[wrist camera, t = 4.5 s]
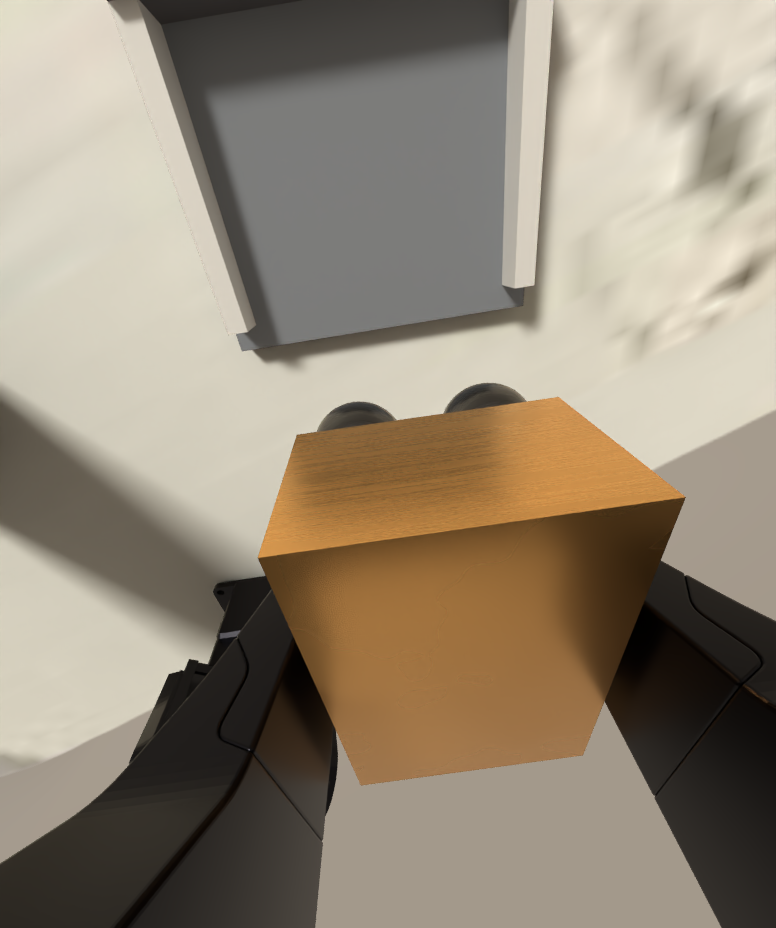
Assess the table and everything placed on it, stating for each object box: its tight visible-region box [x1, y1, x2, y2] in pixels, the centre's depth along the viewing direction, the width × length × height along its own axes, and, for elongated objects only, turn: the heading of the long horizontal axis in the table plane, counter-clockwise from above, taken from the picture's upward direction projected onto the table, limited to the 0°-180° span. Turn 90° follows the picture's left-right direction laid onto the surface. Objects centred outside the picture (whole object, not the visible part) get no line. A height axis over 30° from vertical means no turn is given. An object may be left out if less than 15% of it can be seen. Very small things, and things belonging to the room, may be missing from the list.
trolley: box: [258, 383, 686, 785], centre depth 8 cm, size 7×5×5 cm
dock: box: [107, 0, 554, 351], centre depth 13 cm, size 11×13×3 cm
